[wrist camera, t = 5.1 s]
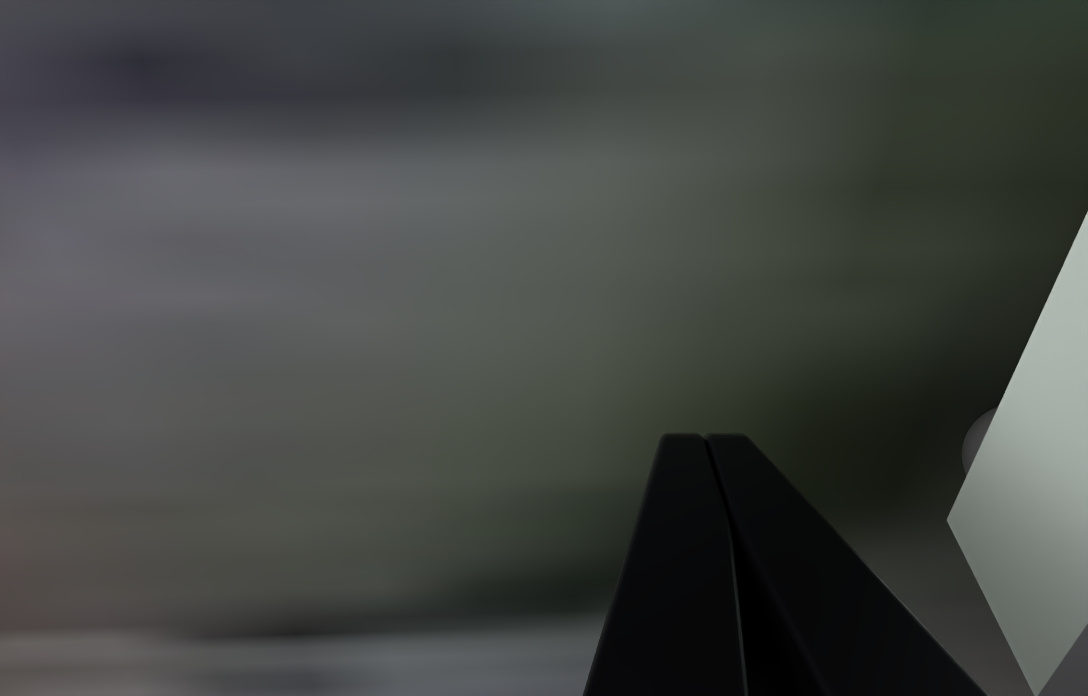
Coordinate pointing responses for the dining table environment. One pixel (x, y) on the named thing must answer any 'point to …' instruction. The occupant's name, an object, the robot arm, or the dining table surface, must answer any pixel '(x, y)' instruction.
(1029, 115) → the dining table surface
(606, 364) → the dining table surface
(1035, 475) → the pale green box
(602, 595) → the dining table surface
